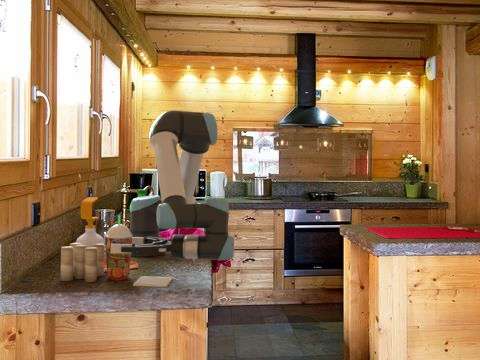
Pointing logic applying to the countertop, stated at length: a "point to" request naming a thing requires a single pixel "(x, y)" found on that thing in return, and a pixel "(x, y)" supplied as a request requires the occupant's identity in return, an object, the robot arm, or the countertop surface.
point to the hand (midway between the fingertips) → (117, 244)
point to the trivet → (153, 281)
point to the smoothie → (118, 261)
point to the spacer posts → (82, 262)
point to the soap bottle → (89, 224)
